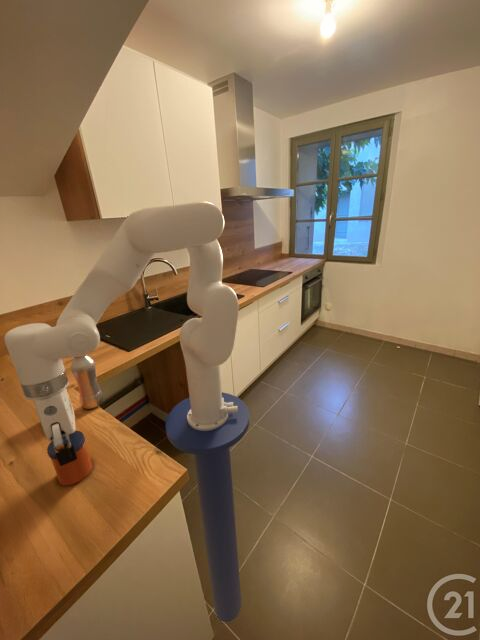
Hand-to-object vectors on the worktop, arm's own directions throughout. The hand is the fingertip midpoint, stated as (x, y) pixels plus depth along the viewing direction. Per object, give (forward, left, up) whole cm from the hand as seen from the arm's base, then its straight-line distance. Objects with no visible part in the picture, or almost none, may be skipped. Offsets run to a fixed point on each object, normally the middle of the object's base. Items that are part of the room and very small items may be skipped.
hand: (68, 449), depth 59 cm
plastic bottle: (+8, -26, -7) cm, 28 cm away
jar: (0, 0, -7) cm, 7 cm away
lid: (0, 0, +2) cm, 2 cm away
